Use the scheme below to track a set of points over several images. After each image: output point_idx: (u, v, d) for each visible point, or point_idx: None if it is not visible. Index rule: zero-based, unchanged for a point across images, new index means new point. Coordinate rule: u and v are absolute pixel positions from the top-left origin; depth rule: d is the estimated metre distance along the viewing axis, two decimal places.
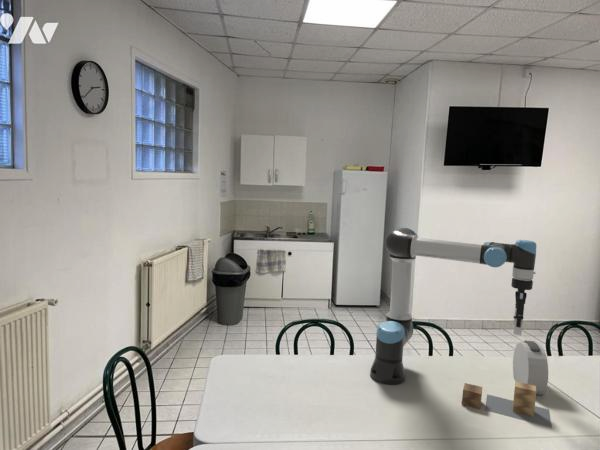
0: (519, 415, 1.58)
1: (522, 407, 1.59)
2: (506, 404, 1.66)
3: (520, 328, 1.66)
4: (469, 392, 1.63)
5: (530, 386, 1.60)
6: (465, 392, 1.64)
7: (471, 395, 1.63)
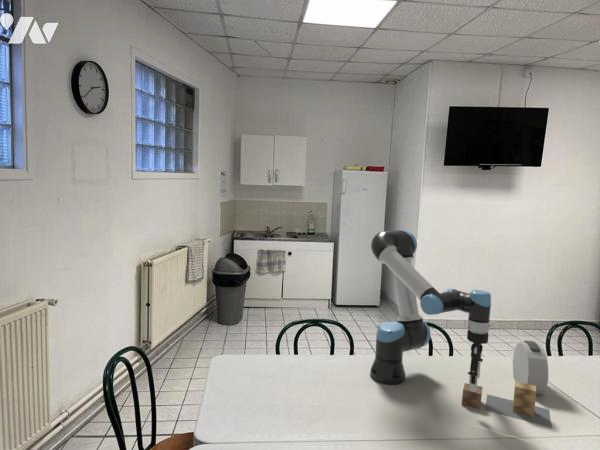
0: (519, 415, 1.58)
1: (522, 407, 1.59)
2: (506, 404, 1.66)
3: (475, 385, 1.58)
4: (469, 392, 1.63)
5: (530, 386, 1.60)
6: (465, 392, 1.64)
7: (471, 395, 1.63)
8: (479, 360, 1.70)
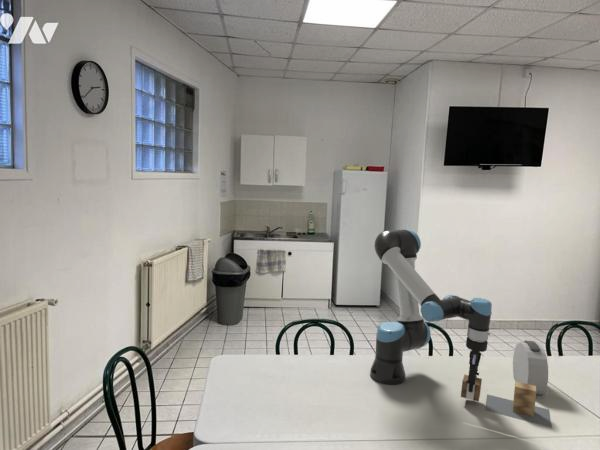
0: (519, 415, 1.58)
1: (522, 407, 1.59)
2: (506, 404, 1.66)
3: (472, 393, 1.62)
4: None
5: (530, 386, 1.60)
6: (464, 384, 1.64)
7: None
8: (475, 374, 1.68)
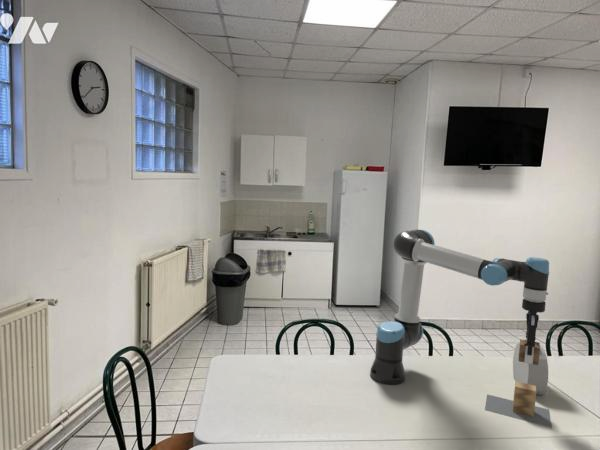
0: (519, 415, 1.58)
1: (522, 407, 1.59)
2: (506, 404, 1.66)
3: (531, 356, 1.55)
4: None
5: (530, 386, 1.60)
6: (522, 347, 1.57)
7: None
8: None
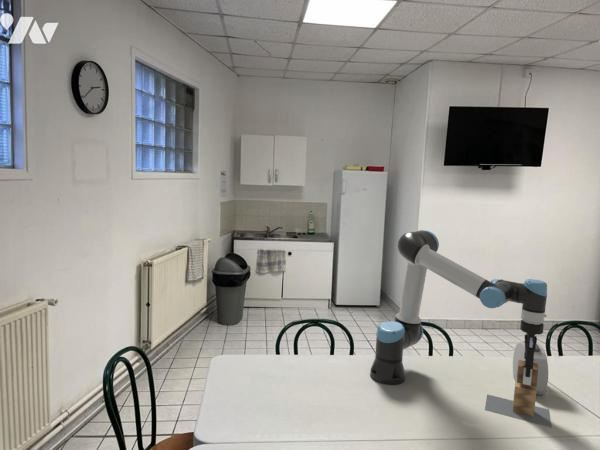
0: (519, 415, 1.58)
1: (522, 407, 1.59)
2: (506, 404, 1.66)
3: (529, 378, 1.56)
4: None
5: (530, 386, 1.60)
6: (520, 368, 1.58)
7: None
8: None
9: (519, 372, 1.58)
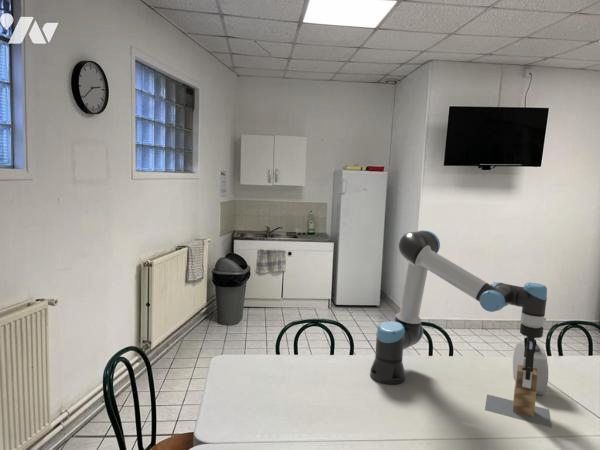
0: (519, 415, 1.58)
1: (522, 407, 1.59)
2: (506, 404, 1.66)
3: (529, 381, 1.54)
4: None
5: None
6: (520, 374, 1.58)
7: None
8: None
9: (518, 377, 1.58)
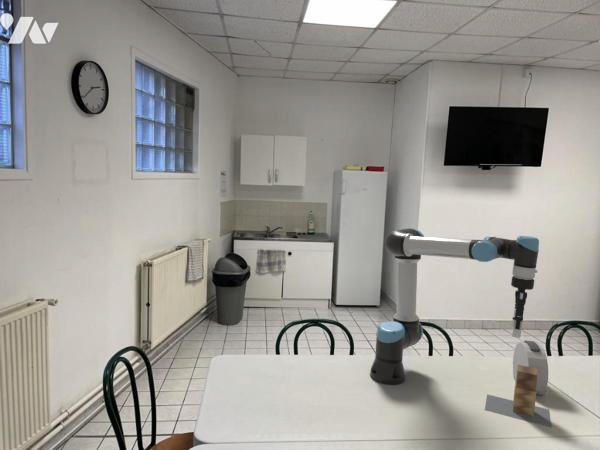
0: (519, 415, 1.58)
1: (522, 407, 1.59)
2: (506, 404, 1.66)
3: (519, 330, 1.55)
4: (524, 373, 1.57)
5: None
6: (520, 374, 1.58)
7: (526, 377, 1.57)
8: None
9: (518, 377, 1.58)
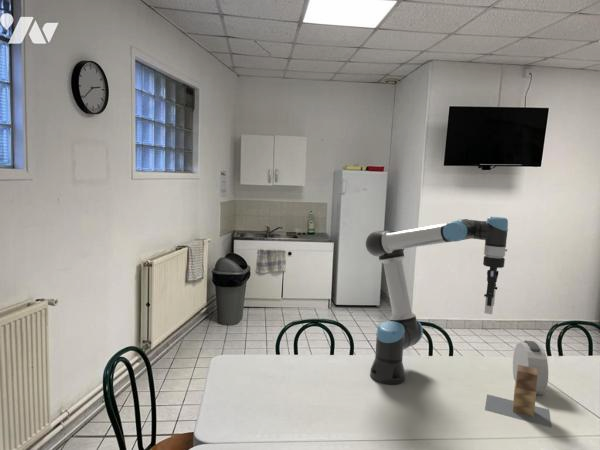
0: (519, 415, 1.58)
1: (522, 407, 1.59)
2: (506, 404, 1.66)
3: (491, 307, 1.61)
4: (524, 373, 1.57)
5: None
6: (520, 374, 1.58)
7: (526, 377, 1.57)
8: (494, 288, 1.73)
9: (518, 377, 1.58)
